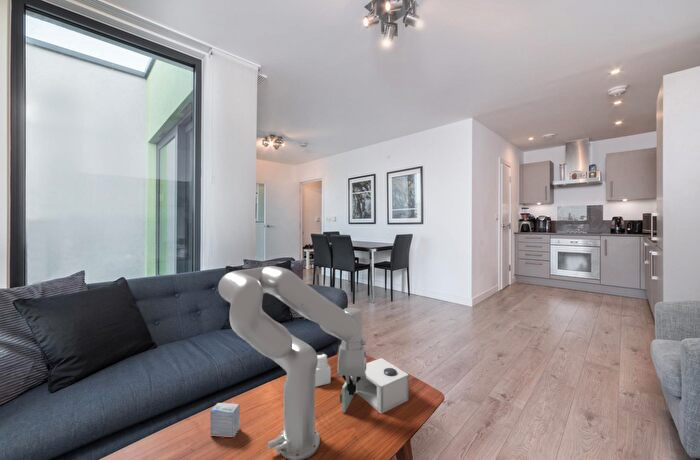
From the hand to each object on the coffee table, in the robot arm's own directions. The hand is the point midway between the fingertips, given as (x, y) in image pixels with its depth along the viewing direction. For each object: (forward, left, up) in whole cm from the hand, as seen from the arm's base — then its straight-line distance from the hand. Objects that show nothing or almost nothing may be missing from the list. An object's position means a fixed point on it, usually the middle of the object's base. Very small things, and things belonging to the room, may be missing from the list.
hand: (351, 393), depth 101 cm
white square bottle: (0, +24, -7) cm, 25 cm away
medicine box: (-40, +15, -7) cm, 43 cm away
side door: (+2, +5, -7) cm, 9 cm away
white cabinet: (+15, +1, -7) cm, 17 cm away
